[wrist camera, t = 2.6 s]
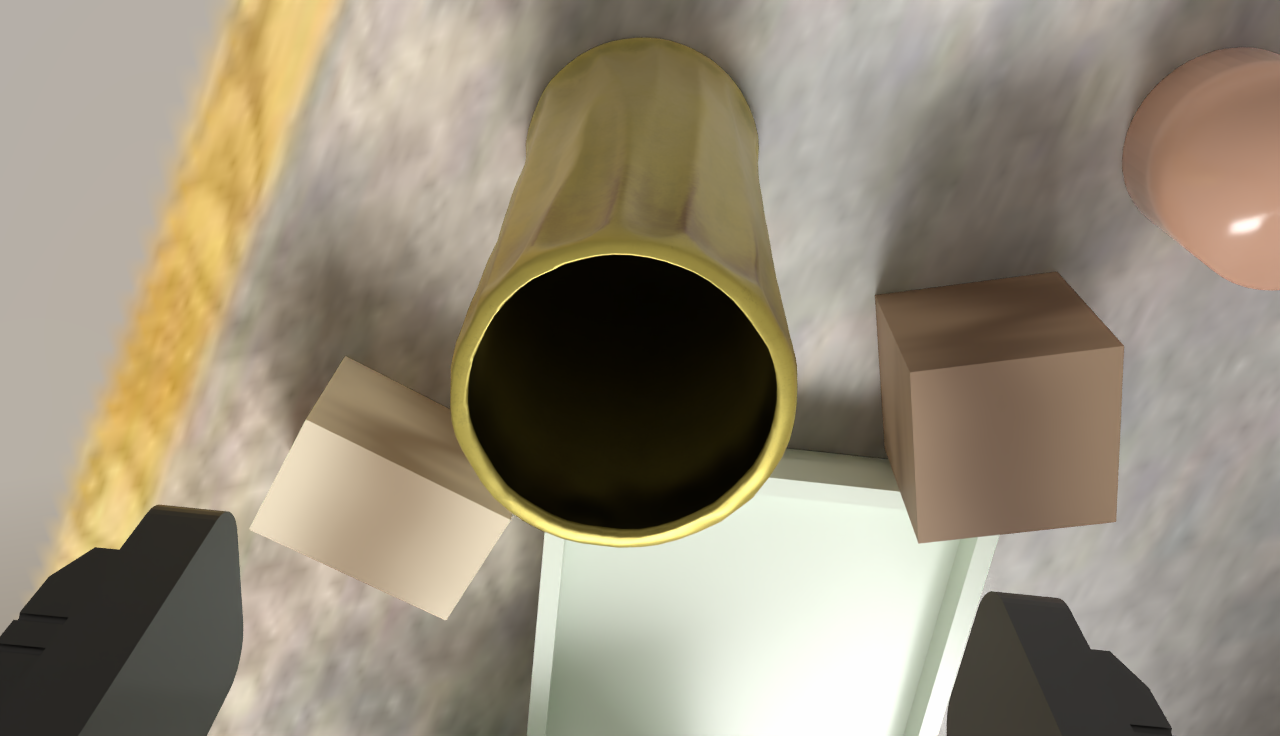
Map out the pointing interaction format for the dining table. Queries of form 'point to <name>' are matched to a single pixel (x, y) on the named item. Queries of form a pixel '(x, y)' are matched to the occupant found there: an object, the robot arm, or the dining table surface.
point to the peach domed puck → (1214, 162)
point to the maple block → (384, 493)
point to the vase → (629, 309)
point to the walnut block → (1000, 407)
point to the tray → (762, 618)
